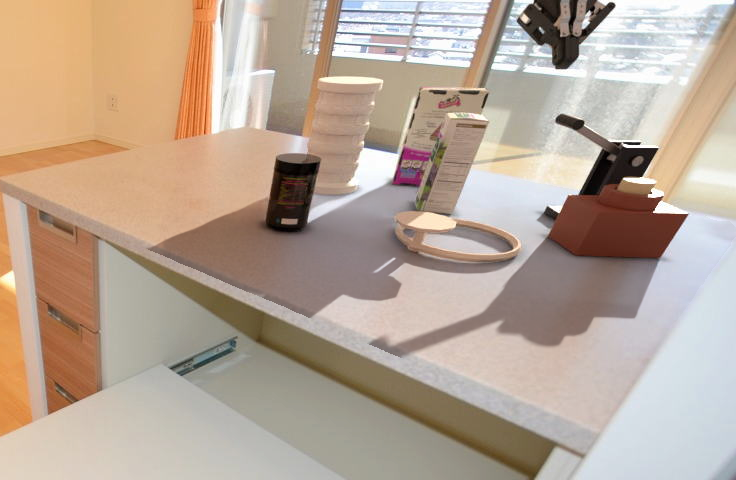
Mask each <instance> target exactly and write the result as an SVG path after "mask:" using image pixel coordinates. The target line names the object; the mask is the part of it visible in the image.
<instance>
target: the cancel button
mask: <svg viewBox="0 0 736 480" xmlns="http://www.w3.org/2000/svg"><path fill="white" fill-rule="evenodd" d="M656 185H657V181H656V180H654V179H650V178H647V177H642V178H641V177H624V178H623V179H622V181H621V183H620V184H619V186H618V188H617V190H618V191H621V192H625V193H631V194H638V195H649V194H650V192H651V191H652V189H654V187H655V186H656Z"/></svg>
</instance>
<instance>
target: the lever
mask: <svg viewBox="0 0 736 480" xmlns="http://www.w3.org/2000/svg"><path fill="white" fill-rule="evenodd" d="M554 122H555V124H556V125H559V126H561V127H564V128H567V129H570V130H573V132H576V133H577V134H579V135H581V136H582V137H584V138H585V139H587V140H588V141H590V142H592V143H593V144H595V145H597V146H598V147H600V148H601V149H602V148H603V149H604V150H606V151H608V152H609V153H611V154H610V155H609V156H608V157H607V158H606V159H608V160H609V161H611V162H614V161H615V159H616V157H617V155H618V153H619V151H620V149H621V148H622V146H629V145H626V144H623V143H621V144H620V145H619V146H617V145H615V144H613V143H612V142H610V141H609V140H610V139H607V138H605V137H604V136H602V135H601V134H599V133H598V132H596V131H594V130H593V129H592V128H590V127H588V126H586V124H585V123H586V121H585V120H584V119H582V118H580V117H577V116H574V115H570V114H567V113H563V112H562V113H559V114H558V115H557V116H556V118H555V120H554Z"/></svg>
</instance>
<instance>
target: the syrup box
mask: <svg viewBox="0 0 736 480" xmlns="http://www.w3.org/2000/svg"><path fill="white" fill-rule="evenodd" d="M489 123H490V120H488V119H487V118H486V117H485V116H484V115H483V114H481V115H478V114H472V113H446V115H445V118H444V120H443V123H442V126H441V129H440V132H439V134H438V137H437V140H436V143H435V145H434V148H433V151H432V153H431V156H430V159H429V162H428V164H427V167H426V170H425V173H424V176H423V178H422V181H421V184H420V187H418V190H417V192H416V193H417V194H416V196H415V199H414V205H415V208H416V211H418V212H430V213H435V214H450V215H451V214H454V211H455V209H456V207H457V203H458V201H459V198H460V196H461V193H462V191H463V189H464V186H465V184H466V181H467V180H468V179H467V178H468V176H469V173H470V171H471V169H472V167H473V164H474V161H475V158H476V156H477V154H478V151H479V149H480V146H481V144H482V142H483V139H484V136H485V134H486V132H487V129H488V126H489Z"/></svg>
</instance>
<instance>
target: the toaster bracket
mask: <svg viewBox="0 0 736 480" xmlns="http://www.w3.org/2000/svg"><path fill="white" fill-rule="evenodd" d="M608 140H609V141H610V142H612V143H613V144H615V145H617V146H619V145H620V144H621V143H623V144H626V145H629V146H622V148H621V149H620V151H619V153H618V155H617V157H616V159H615V161H614V162H611V161H609V160H608V159H606V158H607V157H608V156H609V155H610V154H611V153H609V152H608V151H606V150H604V149H603V148H601V150H600V152H599V153H598V155H597V157H596V160H595V161H594V163H593V164H592V165H593V166H592V167H591V169H590V170H589V172H588V175H587V176H586V179H585V181H584V182H583V185H582V187H581V188H580V190H579V193H578V194H577V195H600V193H601V191H602V190H603V188H604V186H605V185H610V184H620V183H621V181H622V179H623V178H624V177H641V178H644V175H645V174H646V171H648V168H649V166H650V165H651V163H652V162H653V159H654V158H655V156H656V154H657V153H658V151H659V149H660V147H658V146H656V145H641V144H642V141H640V140H637V139H636V140H635V139H633V140H632V139H627V140H626V139H620V140H618V139H617V140H616V139H608ZM562 207H563V205H547V206H546V207H545V209H544V211H543V214H544V215H546V216H548V217H549V218H551V219H553V220H554V221H555V220H556V218H557V216H558V214H559V212H560V211H561V209H562Z"/></svg>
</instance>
